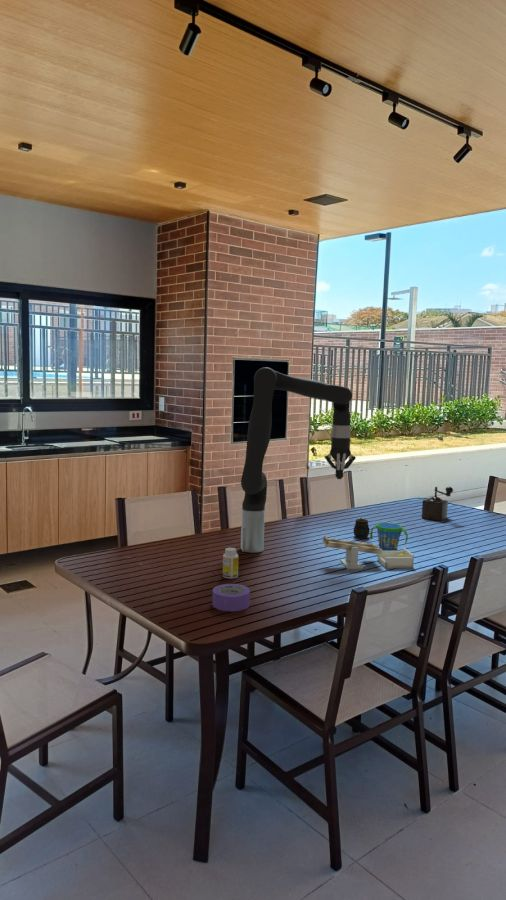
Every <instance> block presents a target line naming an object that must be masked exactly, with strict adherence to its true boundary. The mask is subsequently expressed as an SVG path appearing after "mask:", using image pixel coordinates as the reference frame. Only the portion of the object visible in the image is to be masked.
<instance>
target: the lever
mask: <svg viewBox="0 0 506 900" xmlns="http://www.w3.org/2000/svg"><path fill="white" fill-rule="evenodd" d="M322 543H323V545H324V546H325V547H327V548H333V549H341V550H345V551H346V550H351V548H352V547H358V552H359V553H367V554H368V553H369V554H374V555H378V554H382V551H383V550H382V549H380V547H379V544H378V545H377V544H374V543H371V542H370V543H369V542H365V541H364V542H363V541H360V542H357V541H349V540H344V539H343V540H342V539H336V538H335V539H334V538H328V537H327V536H326V535H323V538H322Z"/></svg>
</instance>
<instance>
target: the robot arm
mask: <svg viewBox="0 0 506 900" xmlns="http://www.w3.org/2000/svg"><path fill="white" fill-rule="evenodd" d="M253 376H254V377H253V403H252V408H251V412H250V415H249V420H248V426H247V427H248V428H247V438H246V447H245V449H246V450H245V459H244V460H245V461H244V464H243V465H244V466H243V470H242V473H241V474H242V475H241V479H240V486H241V488H242V490H243V491H244V498H243V501H242V503H241V504H242V506H241V508H242V511H241V529H240V550H241V551H242V553H243V552H244V553H245V552H246V553H251V554H252V553H255V554H256V553H262V552H263V551H265V550H264V549H265V548H264V547H265V516H266V515H265V512H266V511H265V508H266V502H267V491H268V479H267V476H266V474H265V472H263V464H264V459H265V456H266V454H267V451H268V447H269V444H270V440H271V433H272V423H273V422H272V421H273V419H272V417H273V412H272V411H273V410H272V407H273V405H272V403H273V398H274V392H275V390H277V391H278V390H279V391H285V392H288V393H289V392H290V393H293V394H297V395H300V396H303V397H307V398H310V399H311V398H312V399H315V400H316V399H317V400H322V401H328V402H331V403H332V406H333V407H332V409H333V413H332V428H331V433H330V434H331V435H330V436H331V439H330V440H331V442H330V450H329V453H328V454H327V455H324V459H325V460H326V462H327V464H328V465H329V466H330V468H332V469H334V470H335V474H334V475H335V478H336V479H337V480H342V478H343V477H344V470H346V469H348V468H349V467H350V466H351V465H352V464H353V463H354V461H355V460H356V458H357V457H356V456H354V455H353V454H352V452H351V448H350V447H351V411H350V407H351V406H350V405H351V401H352V399H353V392H352V390H351V389H350V388H349V387H347V386H343V385H335V384H330V383H326V382H323V381H319V380H315V379H309V378H305V377H298V376H291V375H288V374H284V373H281V372H279V371H276V370H274V369H273V368H272V367H267V366H266V367H264V366H263V367H261V368H259V369H258V370H256V372H255V373H254V375H253ZM332 459H333V460H334V462H333V461H332Z"/></svg>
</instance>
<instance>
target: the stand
mask: <svg viewBox="0 0 506 900" xmlns="http://www.w3.org/2000/svg"><path fill="white" fill-rule="evenodd" d="M358 559H359V551H358V547H352V548H351V550H346V549H345V558H341V559H340V560H339V561H340V563H342V564H343V566H344V567H345V568H346V570H363V569H364V566H362V565H361V563H359V560H358Z"/></svg>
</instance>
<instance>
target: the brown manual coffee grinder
mask: <svg viewBox="0 0 506 900" xmlns="http://www.w3.org/2000/svg"><path fill="white" fill-rule="evenodd" d="M453 492H454V489H453V487H452V486H447V487H445V492H443V491H440V490H438V486H435V487H434V496H432V497H429V498H426V499H422V504H421V505H422V506H421V519H425V520H432V521H438V522H439V521H444V520H446V519H447V518H448V507H449V506H448V505H449V501H448V500H446V499H442V498H440V497H438V495H437V493H438V494H442V495H445V496H446V497H451V496H452V495H451V494H453Z"/></svg>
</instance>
